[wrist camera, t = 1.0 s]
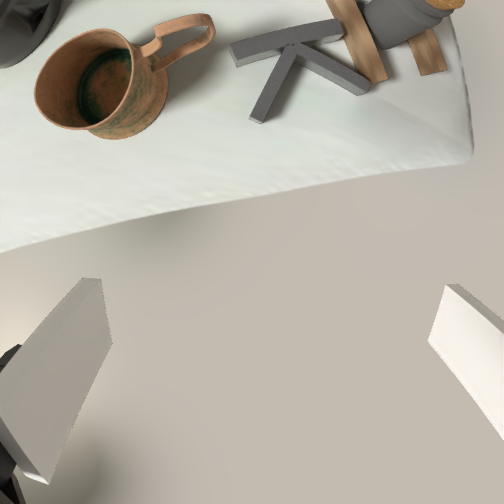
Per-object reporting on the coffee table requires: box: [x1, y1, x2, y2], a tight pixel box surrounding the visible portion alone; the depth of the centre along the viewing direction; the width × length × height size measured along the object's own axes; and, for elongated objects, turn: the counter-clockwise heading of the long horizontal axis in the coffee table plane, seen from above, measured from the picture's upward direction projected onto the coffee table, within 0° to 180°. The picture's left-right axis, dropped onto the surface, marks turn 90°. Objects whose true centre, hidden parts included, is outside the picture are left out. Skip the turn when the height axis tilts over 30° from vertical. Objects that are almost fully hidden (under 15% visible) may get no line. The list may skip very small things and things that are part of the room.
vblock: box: [230, 18, 372, 124], centre depth 29 cm, size 9×14×3 cm, turn 110°
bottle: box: [361, 0, 465, 49], centre depth 22 cm, size 6×6×15 cm
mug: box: [34, 14, 216, 140], centre depth 24 cm, size 12×18×12 cm, turn 106°
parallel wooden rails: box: [326, 0, 448, 85], centre depth 26 cm, size 16×10×4 cm, turn 20°
